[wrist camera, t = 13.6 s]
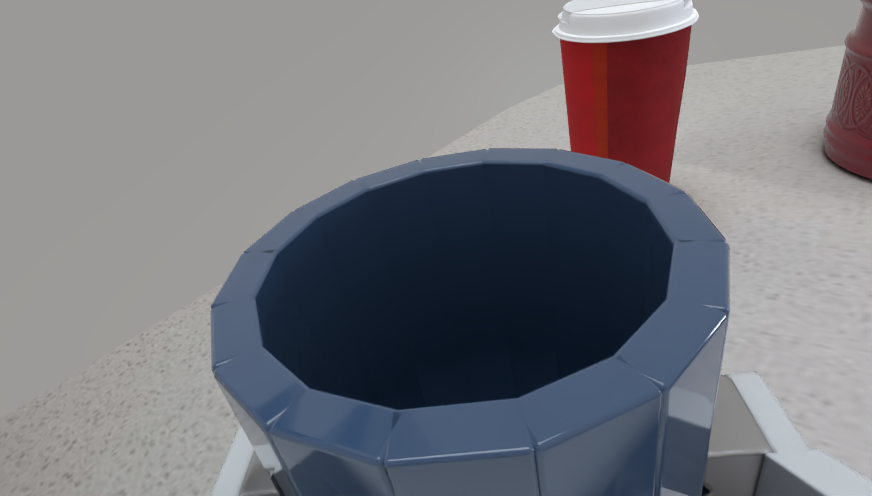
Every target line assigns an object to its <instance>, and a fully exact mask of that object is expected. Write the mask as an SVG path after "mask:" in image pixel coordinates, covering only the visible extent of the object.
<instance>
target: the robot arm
mask: <svg viewBox="0 0 872 496" xmlns="http://www.w3.org/2000/svg"><path fill="white" fill-rule="evenodd" d="M210 496H280V495H279V494H278V492H277V490H276V488H275V486H274V485H273V483H272V481H271V479H270V477H269V475H268V474H267V472H266V470H265V468H264V466H263V465H262V463H261V461H260V459H259V457H258V455H257V454H256V452H255V450H254V448H253V446H252V445H251V443H250V441H249V439H248V437H247V436H246V434H245V432H244V430H243V428H242V426H240V427H239V428H238V429H237V431H236V433H235V436H234V438H233V441H232V443H231V446H230V448H229V451H228V453H227V455H226V458H225V460H224V463H223V465H222V468H221V470H220V473H219V475H218V477H217V480H216V482H215V485H214V487H213V490H212V492H211V495H210ZM701 496H872V481H871V480H870V479H868V478H867V477H865V476H863V475H862V474H860V473H859V472H857V471H855V470H854V469H852V468H850V467H849V466H847V465H846V464H844V463H842V462H841V461H839V460H837V459H836V458H834V457H833V456H831V455H829V454H828V453H826V452H825V451H823V450H821V449H810V448H809V446H808V445H807V443H806V442H805V440H804V439H803V437H802V436H801V434H800V433H799V431H798V430H797V428H796V427H795V425H794V424H793V422H792V421H791V419H790V418H789V416H788V415H787V413H786V412H785V410H784V409H783V407H782V406H781V404H780V403H779V401H778V400H777V398H776V397H775V395H774V394H773V392H772V391H771V389H770V388H769V386H768V385H767V383H766V382H765V380H764V379H763V377H762V376H761V375H760V374H758V373H757V372H745V373H735V374H726V375H720V379H719V385H718V392H717V398H716V405H715V411H714V417H713V424H712V430H711V437H710V443H709V450H708V456H707V463H706V469H705V476H704V482H703V489H702V495H701Z"/></svg>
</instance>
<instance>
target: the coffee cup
mask: <svg viewBox="0 0 872 496" xmlns="http://www.w3.org/2000/svg"><path fill="white" fill-rule="evenodd" d="M698 17H699V15H698V13H697V11H696V10H695V9H694V8H693V3H692V0H573V1H570V2H568V3H567V4H566V5H564V7H563V12H561V13H560V14H559V15H558V19H559V20H560V23H559V24H558V25H557V26H556V27H555V28H554V29H553V30H552V34H554V35H555V36H556V37H557V38H559V39H560V43H561V53H562V63H563V74H564V84H565V94H566V104H567V115H568V125H569V135H570V145H571V152H576V153H581V154H586V155H591V156H597V157H602V158H607V159H612V160H617V161H622V162H624V163H625V164H630V165H632V166H635V167H637V168H639V169H641V170H643V171H645V172H647V173H649V174H651V175H653V176H655V177H657V178H659V179H661V180H663V181H665V182H667V183H669V181H670V174H671V167H672V160H673V153H674V146H675V139H676V132H677V125H678V119H679V112H680V106H681V100H682V94H683V88H684V81H685V75H686V67H687V59H688V50H689V41H690V34H691V25H692V24H693V23H695V22H696V21H697V20H698Z"/></svg>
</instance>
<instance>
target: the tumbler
mask: <svg viewBox="0 0 872 496" xmlns="http://www.w3.org/2000/svg"><path fill="white" fill-rule="evenodd" d="M729 314H730V256H729V246H728V244H727V242H726V240H725V238H724V237H723V235H722V234H721V233H720V232H719V231H718V229H717V228H716V227H715V226H714V224H713V223H712V222H711V221H710V220H709V218H708V217H707V216H706V215H705V213H704V212H703V211H702V210H701V209H700V207H699V206H698V205H697V204H696V203H695V201H694V200H693V199H692V198H691V196H690V195H689V194H685V192H684V191H683V190H681V189H679V188H677V187H675V186H673V185H671V184H669V183H667V182H665V181H663V180H661V179H659V178H657V177H655V176H653V175H651V174H649V173H647V172H645V171H643V170H641V169H639V168H637V167H635V166H632V165H630V164H625V163H624V162H622V161H617V160H612V159H607V158H602V157H597V156H591V155H586V154H581V153H576V152H571V151H566V150H557V149H525V148H490V149H488V150H486V149H483V150H476V151H470V152H463V153H457V154H450V155H443V156H437V157H430V158H424V159H421V160H415V161H413V162H409V163H406V164H403V165H399V166H396V167H393V168H390V169H387V170H383V171H380V172H377V173H374V174H371V175H368V176H364V177H361V178H358V179H356V180H355V181H354V180H353V181H350V182H348V183H346V184H344V185H342V186H340V187H338V188H336V189H334V190H332V191H331V192H329V193H327V194H325V195H323V196H321V197H319V198H317V199H315V200H313V201H311V202H309V203H308V204H305V205H303V206H301V207H299V208H297V209H296V210H295V211H293V212H291V213H290V214H288V215H287V216H286V217H285V218H284V219H283V220H281V221H280V222H279V223H278V224H276V225H275V226H274V227H273V228H272V229H271V230H270V231H268V232H267V233H266V234H264V235H263V236H262V237H261V238H260V239H259V240H257V241H256V242H255V243H254V244H252V245H251V246H250V247H249V248H248V249H247V250H245V251H244V253H243V254H242V255H241V256H240V257H239V259H238V261H237V262H236V264H235V266H234V268H233V269H232V271H231V272H230V274H229V276H228V278H227V279H226V281H225V282H224V284H223V286H222V288H221V289H220V291H219V293H218V294H217V296H216V298H215V299H214V301H213V303H212V304H211V362H212V372H213V373H214V378H215V379H216V381H217V383H218V385H219V387H220V388H221V390H222V392H223V394H224V396H225V397H226V399H227V401H228V403H229V405H230V407H231V408H232V410H233V412H234V414H235V416H236V417H237V419H238V421H239V423H240V425H241V426H242V428H243V430H244V432H245V434H246V436H247V437H248V439H249V441H250V443H251V445H252V446H253V448H254V450H255V452H256V454H257V455H258V457H259V459H260V461H261V463H262V465H263V466H264V468H265V470H266V472H267V474H268V475H269V477H270V479H271V481H272V483H273V485H274V486H275V488H276V490H277V492H278V494H279V495H280V496H701V495H702V489H703V482H704V476H705V469H706V463H707V456H708V450H709V443H710V437H711V430H712V424H713V417H714V411H715V405H716V398H717V392H718V385H719V379H720V372H721V366H722V359H723V353H724V346H725V340H726V333H727V327H728V320H729Z"/></svg>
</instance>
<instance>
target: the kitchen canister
mask: <svg viewBox="0 0 872 496" xmlns="http://www.w3.org/2000/svg"><path fill="white" fill-rule="evenodd" d="M861 2H862V3H863V6H862V9H861V13H860V16H859V19H858V22H857V25H856V28H855V29H854V30H852V31H851V32H849V34H848V35H847V36H846V39H845V46H846V50H845V54H844V58H843V63H842V67H841V71H840V75H839V80H838V84H837V88H836V92H835V96H834V101H833V105H832V109H831V111H830V113H829V114H828V116H827V118H826V125H825V128H824V137H825V145H824V149H825V152H826V154H827V155H828V157H829V158H830V159H831V160H833V161H834V162H835V163H836V164H838V165H839V166H841V167H843V168H844V169H846V170H848V171H851V172H853V173H855V174H858V175H860V176H863V177H866V178H869V179H872V0H861Z"/></svg>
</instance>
